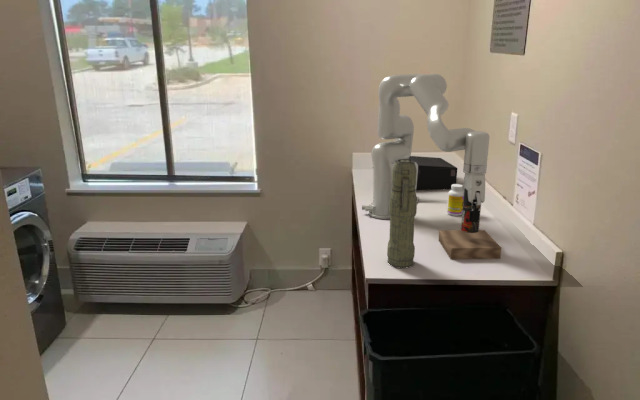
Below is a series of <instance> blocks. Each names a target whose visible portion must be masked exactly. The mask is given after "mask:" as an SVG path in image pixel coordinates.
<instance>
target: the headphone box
mask: <svg viewBox="0 0 640 400" xmlns="http://www.w3.org/2000/svg"><path fill="white" fill-rule="evenodd" d="M409 160H412V161H414V162H416V163H417V164H418V175H417V187H416V192H419V191H438V190H439V191H440V190H443V189H445V190H452V189H451V185H452V184H457V180H458V179H457V178H458V177H457V176H458V167H456V166H455V165H453V164H451V163H450V162H448V161H447V160H445V159H443V158H441V157H431V156H416V155H410V158H409ZM443 191H444V190H443Z"/></svg>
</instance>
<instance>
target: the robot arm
mask: <svg viewBox="0 0 640 400" xmlns="http://www.w3.org/2000/svg"><path fill="white" fill-rule="evenodd" d="M447 85H448V84H447V81H446V79H445V78H444V76H442V75H441V74H438V73H427V74H426V73H425V74H424V73H423V74H422V73H420V74H419V73H412V74H394V75H393V74H392V75H389V76H386V77H384V78H383V79H382V80H381V81H380V83H379V86H378V91H377V92H378V93H377V95H378V112H377V113H378V115H377V116H378V117H377V127H376V129H377V130H376V131H377V135H378V138H380V139H381V140H391V141H383V142H378V143H377V144H375V145H374V146H373V147H372V149H371V160H372V161H371V162H372V167H373V168H372V169H373V172H372V173H373V175H372V177H373V178H372V179H373V181H372V184H373V185H372V187H373V188H372V202H371V204H369V205H366V204H365V205H363V204H362V205H361V210H362V211H365V212H368V215H369V216H370V217H371V218H375V219H382V220H388V219H389V220H390V213H389V197H390V195H391V192H392V170H393V167H392V164H395V161H398V160H399V159H409V158H410V156H412V150H413V142H414V131H415V129H414V127H415V126H414V123H413V120H412V118H411V117H410V116H409V115H406V114H400V113H401V112H400V111H401V104H400V101H399V99H398V98H406V97H407V98H408V97H413V98H414V99H415V100H416V101H417V103H418V104H419V105H420V107H421V109H422V110H423V111H424V113H425V114H426V116H427V120H426V126H427V133H428V134H429V136H430V139H432V141H433V142H434V143H435V145H436V147H437V148H439V150H441V151H442V152H445V153H450V152H456V151H463V150H464V158H463V170H462V172H463V173H464V178H463V184H462V186H463V189H462V191H463V195H464V188H465V189H466V190H468V201H469V202H471V210H470V213H469V221H470V222H478V221H479V211H480V206H481V207H482V203H485V200H486V198H485V197H486V174H487V168H488V160H489V158H488V156H489V146H490V134H489V133H488V132H486V131H480V130H474V129H471V128H469V127H461V128H460V127H459V128H451V129H448V127H447V126H446V125H445V123H444V122H443V121H442V118H441V116H442V115H444V114H445V112H446V111H447V110H448V107H449V101H448V100H447V99H446V97H445V96H444V95H445V93H446V92H447V88H448V86H447ZM473 200H476V202H473ZM473 204H476V205H474V207H473ZM480 212H481V211H480ZM479 222H480V221H479Z"/></svg>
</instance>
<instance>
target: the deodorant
mask: <svg viewBox="0 0 640 400" xmlns="http://www.w3.org/2000/svg"><path fill="white" fill-rule="evenodd" d="M473 202H476V200H473ZM474 205H476V204H473V207H474ZM470 210H471V202H469V201H468V190H466V189H465V188H464V200H463V212H462V215H461V225H460V226H461V228H460V230H462V231H463V232H467V233H477V232H478V231H479V230H480V221H481V220H480V219H481V212H482V211H481V210H482V205H481V206H480V211H479V221H478V222H470V221H469V213H470Z"/></svg>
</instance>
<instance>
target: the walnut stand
mask: <svg viewBox="0 0 640 400" xmlns="http://www.w3.org/2000/svg"><path fill="white" fill-rule="evenodd" d="M438 242H439V243H440V245H441V247H442V248H443V250H444V252H445V253H446V254H447V256H448V257H449V259H450V260H477V259H478V260H480V259H481V260H486V259H487V260H488V259H489V260H491V259H496V260H497V259H498V260H500V259H501V255H502V247H501V245H499V244H498V242H497V241H496V240H495V239H494V238H493V237H492V236H491V235H490V234H489V232H488V231H486V229H479V231H478V232H477V233H467V232H463V231H462V230H461V229H459V230H458V229H452V230H450V229H447V230H446V229H445V230H439V231H438Z"/></svg>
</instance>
